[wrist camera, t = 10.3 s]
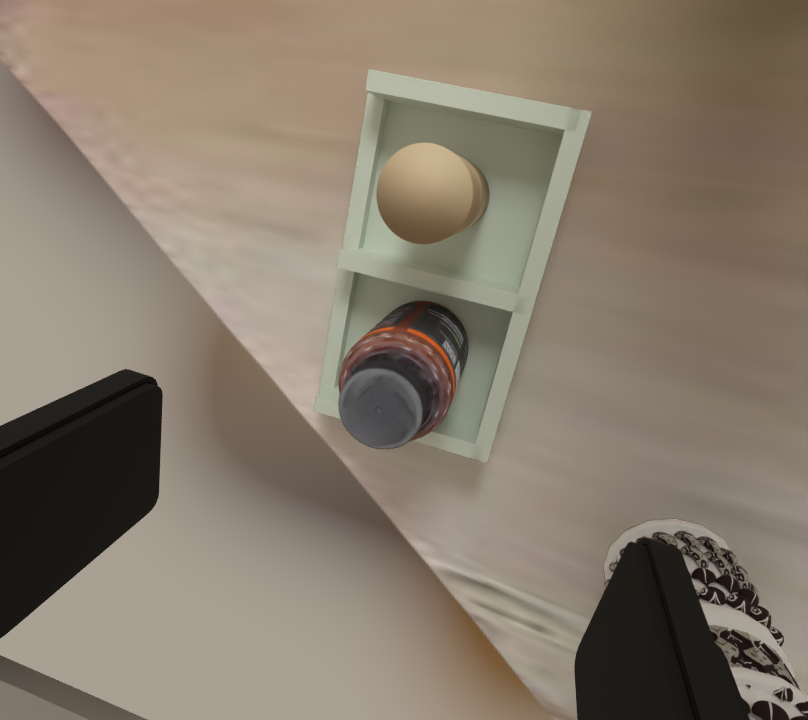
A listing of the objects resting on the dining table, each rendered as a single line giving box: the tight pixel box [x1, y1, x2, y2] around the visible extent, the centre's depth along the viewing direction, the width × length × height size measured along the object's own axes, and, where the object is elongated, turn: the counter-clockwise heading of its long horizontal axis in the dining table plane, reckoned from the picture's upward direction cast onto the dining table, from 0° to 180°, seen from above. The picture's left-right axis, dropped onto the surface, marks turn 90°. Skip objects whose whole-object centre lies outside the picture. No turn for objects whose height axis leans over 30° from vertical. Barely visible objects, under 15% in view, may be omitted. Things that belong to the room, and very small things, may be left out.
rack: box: [313, 69, 592, 463], centre depth 31 cm, size 20×12×4 cm, turn 168°
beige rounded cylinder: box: [376, 143, 490, 244], centre depth 26 cm, size 4×4×10 cm
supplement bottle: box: [338, 301, 469, 449], centre depth 29 cm, size 6×6×11 cm
